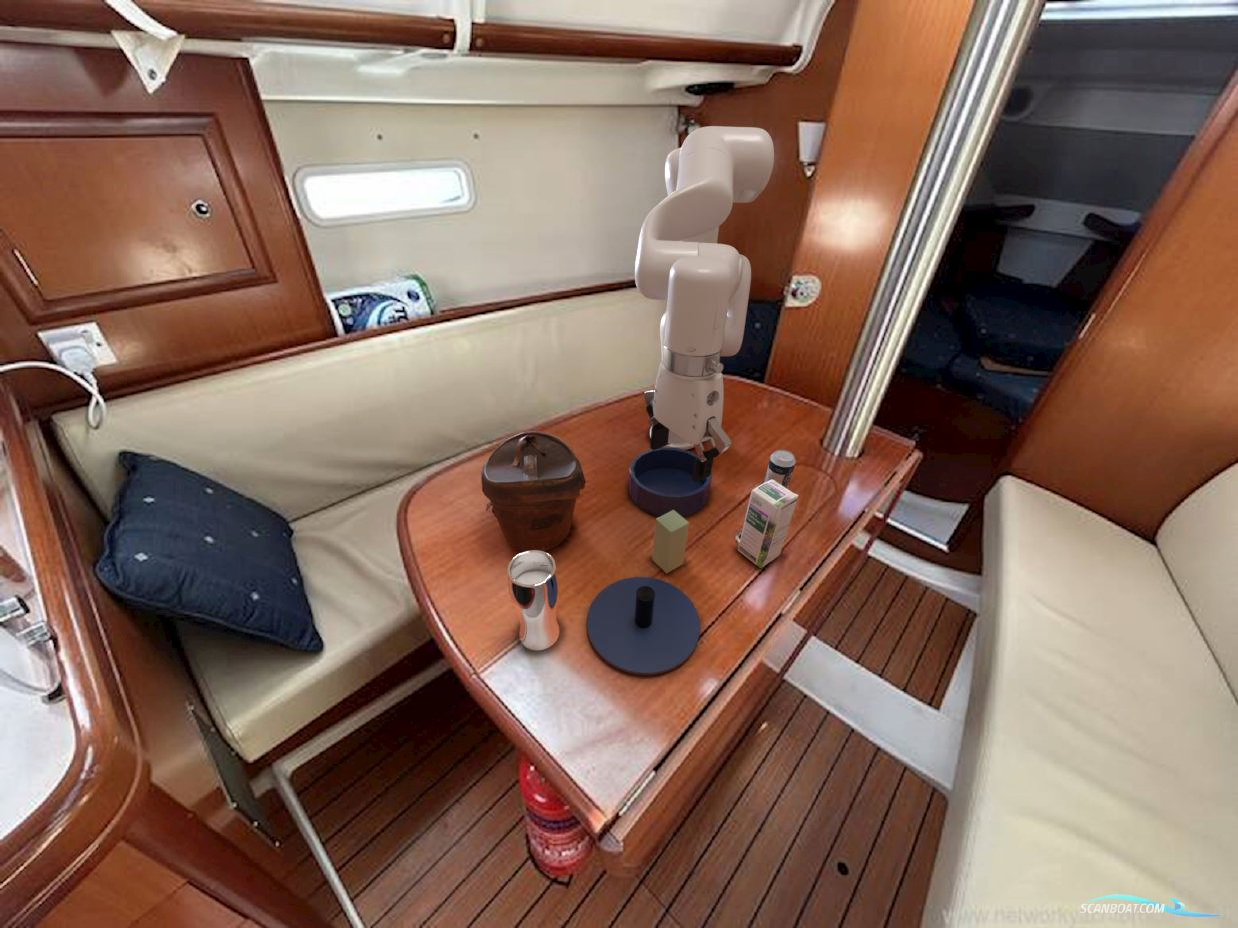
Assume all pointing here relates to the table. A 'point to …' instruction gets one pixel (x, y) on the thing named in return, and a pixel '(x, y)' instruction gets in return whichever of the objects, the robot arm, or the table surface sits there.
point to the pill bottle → (781, 467)
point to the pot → (667, 482)
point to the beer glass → (535, 597)
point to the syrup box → (766, 522)
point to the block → (670, 541)
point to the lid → (643, 625)
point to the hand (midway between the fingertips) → (679, 461)
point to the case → (533, 489)
